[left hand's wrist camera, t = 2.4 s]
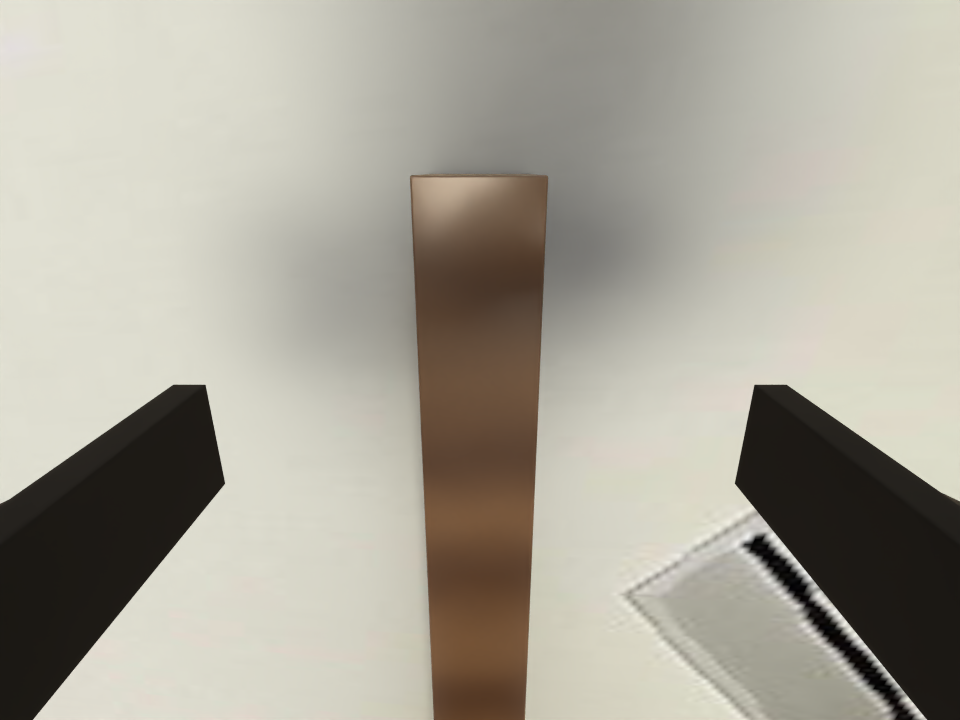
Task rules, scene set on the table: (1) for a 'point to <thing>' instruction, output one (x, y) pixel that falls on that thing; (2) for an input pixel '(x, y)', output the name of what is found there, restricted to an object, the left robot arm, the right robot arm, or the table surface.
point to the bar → (479, 428)
